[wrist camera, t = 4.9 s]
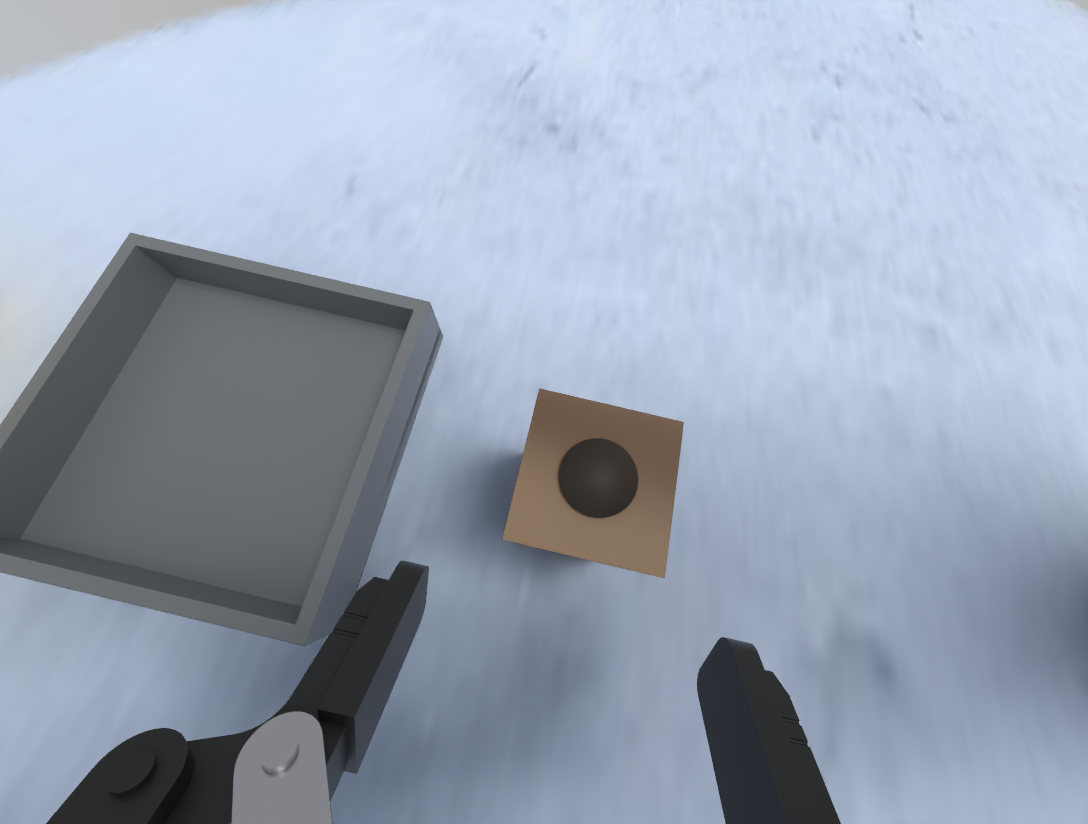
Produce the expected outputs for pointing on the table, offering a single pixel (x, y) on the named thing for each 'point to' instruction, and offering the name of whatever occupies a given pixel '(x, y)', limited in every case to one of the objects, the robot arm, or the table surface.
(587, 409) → the walnut block
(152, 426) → the grey tray
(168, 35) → the table surface
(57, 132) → the table surface
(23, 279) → the table surface
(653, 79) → the table surface
